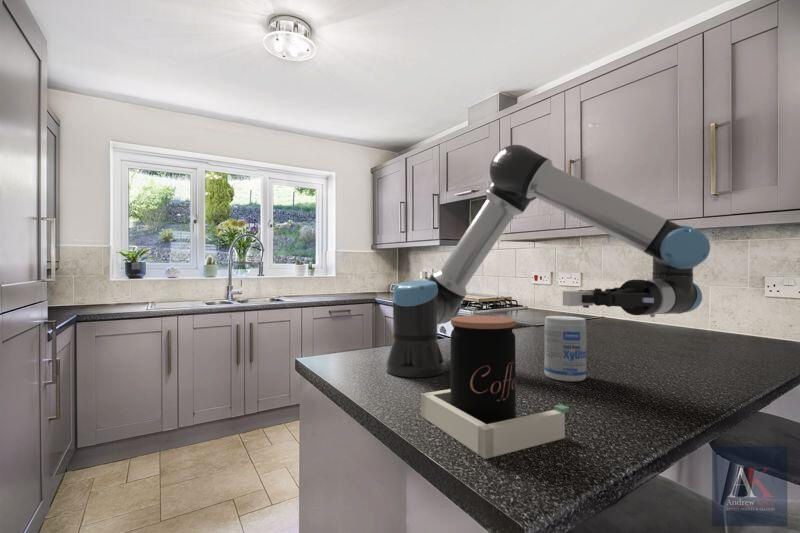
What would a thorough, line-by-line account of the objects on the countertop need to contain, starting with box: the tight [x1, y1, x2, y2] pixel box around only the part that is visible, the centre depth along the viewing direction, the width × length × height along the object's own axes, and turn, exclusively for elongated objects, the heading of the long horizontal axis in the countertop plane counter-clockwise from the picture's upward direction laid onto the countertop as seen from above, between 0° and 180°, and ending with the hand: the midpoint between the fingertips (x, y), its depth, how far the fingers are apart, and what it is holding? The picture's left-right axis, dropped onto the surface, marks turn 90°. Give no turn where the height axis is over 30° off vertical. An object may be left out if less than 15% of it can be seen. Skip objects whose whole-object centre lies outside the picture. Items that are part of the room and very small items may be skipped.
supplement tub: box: [543, 315, 587, 383], centre depth 96 cm, size 10×10×15 cm
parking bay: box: [420, 388, 570, 460], centre depth 66 cm, size 18×16×5 cm
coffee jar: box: [450, 315, 517, 424], centre depth 65 cm, size 11×11×18 cm
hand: (566, 298), depth 73 cm, fingers closed
